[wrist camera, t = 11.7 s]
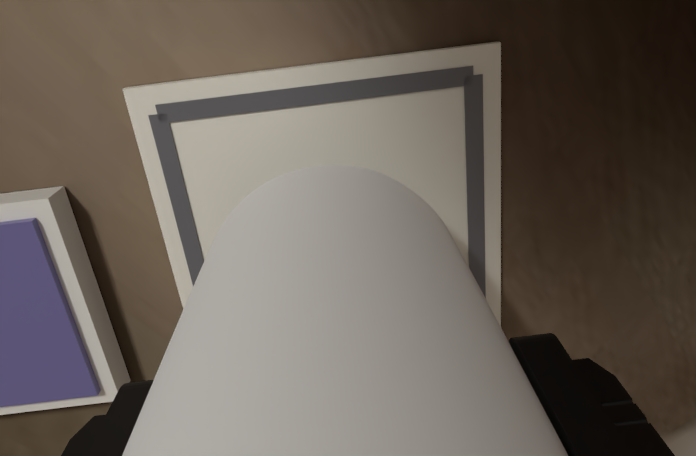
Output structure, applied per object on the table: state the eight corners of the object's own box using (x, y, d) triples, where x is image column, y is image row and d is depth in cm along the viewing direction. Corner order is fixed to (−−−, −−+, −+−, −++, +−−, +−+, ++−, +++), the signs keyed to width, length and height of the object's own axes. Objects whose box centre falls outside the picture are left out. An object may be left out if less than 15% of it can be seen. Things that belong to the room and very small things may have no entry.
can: (501, 279, 15) (1017, 1105, 4) (327, 410, 16) (343, 1270, 5) (340, 102, 13) (472, 824, 2) (156, 272, 14) (-383, 1223, 3)
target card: (126, 87, 15) (121, 89, 14) (497, 41, 15) (501, 42, 14) (207, 383, 19) (205, 389, 18) (498, 348, 19) (500, 354, 18)
